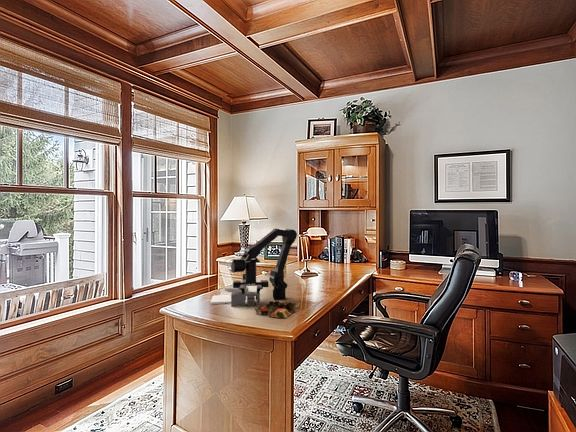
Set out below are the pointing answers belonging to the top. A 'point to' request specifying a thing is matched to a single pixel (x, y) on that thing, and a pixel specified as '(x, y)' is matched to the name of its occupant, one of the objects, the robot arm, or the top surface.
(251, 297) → the plug
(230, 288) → the electronic device
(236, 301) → the grey notched block
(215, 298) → the white mat
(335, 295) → the top surface
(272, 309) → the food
